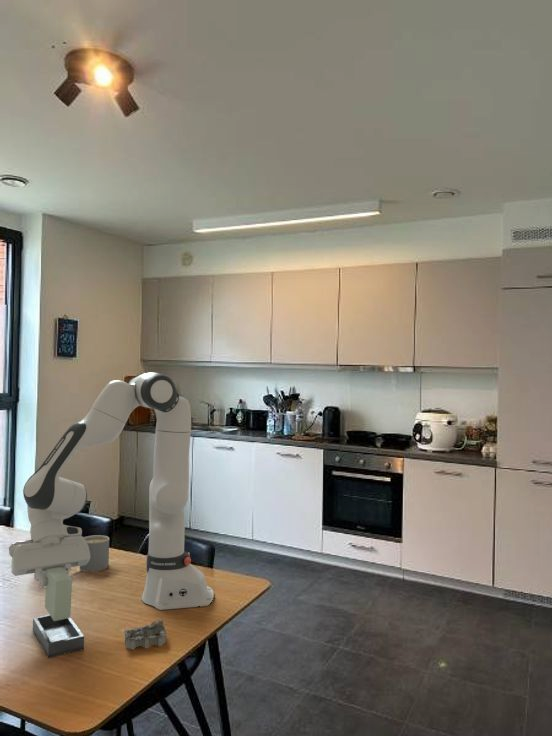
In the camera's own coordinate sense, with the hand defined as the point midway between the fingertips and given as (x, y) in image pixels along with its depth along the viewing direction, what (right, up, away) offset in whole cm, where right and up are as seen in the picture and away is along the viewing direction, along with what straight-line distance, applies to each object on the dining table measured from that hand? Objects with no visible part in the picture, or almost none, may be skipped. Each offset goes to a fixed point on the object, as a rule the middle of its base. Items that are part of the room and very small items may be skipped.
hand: (55, 583), depth 149 cm
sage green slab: (+2, -6, -3) cm, 7 cm away
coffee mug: (-8, -14, +51) cm, 54 cm away
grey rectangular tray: (+2, -13, -3) cm, 14 cm away
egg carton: (+25, -15, -3) cm, 29 cm away
